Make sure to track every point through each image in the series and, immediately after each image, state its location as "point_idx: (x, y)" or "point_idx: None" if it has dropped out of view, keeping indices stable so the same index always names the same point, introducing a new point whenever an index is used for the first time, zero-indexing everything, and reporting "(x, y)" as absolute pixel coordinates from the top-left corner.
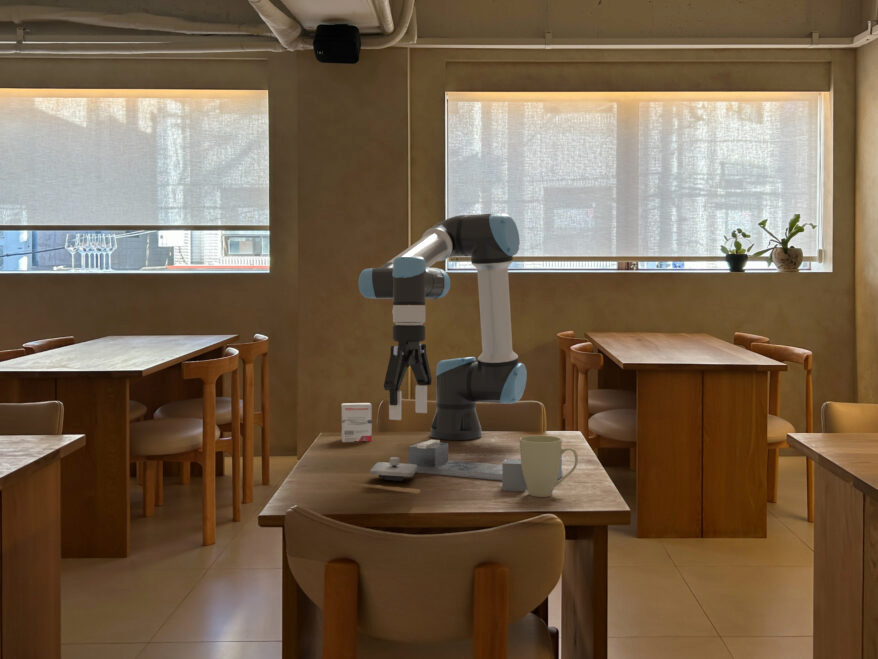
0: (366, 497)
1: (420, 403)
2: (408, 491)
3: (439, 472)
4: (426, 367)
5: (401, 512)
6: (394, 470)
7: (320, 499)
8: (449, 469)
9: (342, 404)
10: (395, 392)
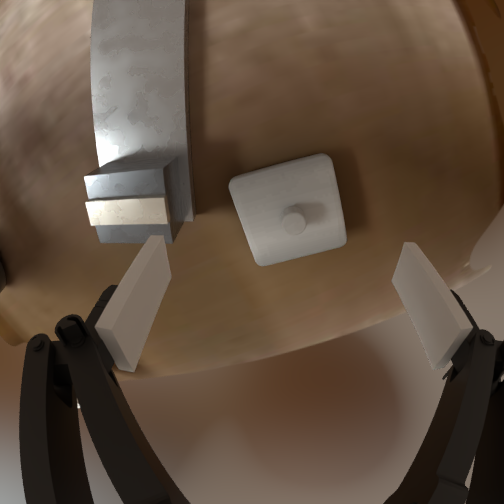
0: (430, 195)
1: (155, 283)
2: (375, 136)
3: (188, 137)
4: (48, 430)
5: (489, 114)
6: (329, 199)
7: (443, 252)
8: (185, 112)
9: (79, 407)
10: (477, 330)
